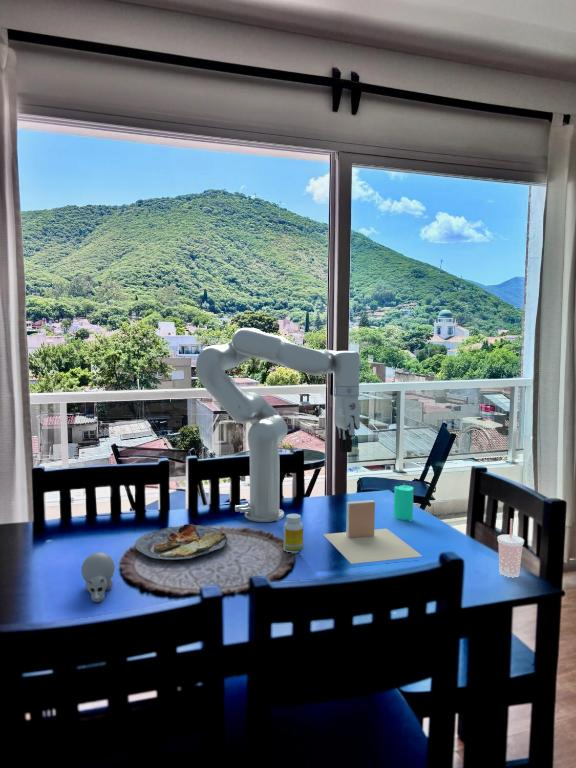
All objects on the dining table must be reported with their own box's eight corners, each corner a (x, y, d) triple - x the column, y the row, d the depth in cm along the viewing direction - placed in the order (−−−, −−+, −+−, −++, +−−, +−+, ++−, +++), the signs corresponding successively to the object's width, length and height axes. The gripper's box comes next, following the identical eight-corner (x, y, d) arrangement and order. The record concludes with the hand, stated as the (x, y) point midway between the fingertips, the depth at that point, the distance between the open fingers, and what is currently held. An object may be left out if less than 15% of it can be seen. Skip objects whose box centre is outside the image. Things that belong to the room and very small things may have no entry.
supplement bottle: (280, 548, 159) (280, 514, 158) (297, 545, 161) (297, 511, 160) (288, 555, 154) (288, 520, 153) (306, 551, 156) (306, 517, 155)
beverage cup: (508, 580, 139) (511, 524, 138) (490, 571, 144) (492, 516, 143) (528, 576, 141) (530, 521, 140) (509, 567, 147) (511, 513, 146)
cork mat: (351, 567, 146) (351, 563, 146) (323, 537, 167) (323, 534, 167) (422, 559, 151) (422, 556, 151) (386, 531, 172) (386, 528, 172)
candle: (411, 517, 186) (412, 480, 185) (413, 523, 180) (414, 485, 179) (392, 516, 187) (393, 480, 186) (394, 522, 181) (395, 485, 180)
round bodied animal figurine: (79, 615, 126) (76, 586, 122) (84, 574, 136) (81, 547, 132) (114, 611, 127) (111, 583, 124) (116, 571, 138) (114, 544, 134)
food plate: (195, 525, 176) (194, 514, 176) (244, 547, 160) (244, 534, 159) (120, 548, 159) (119, 536, 158) (166, 575, 142) (166, 561, 142)
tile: (348, 538, 164) (349, 504, 163) (346, 536, 166) (346, 502, 165) (374, 536, 166) (375, 502, 165) (372, 533, 168) (372, 500, 167)
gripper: (368, 394, 168) (366, 456, 170) (348, 388, 183) (347, 446, 185) (344, 394, 166) (343, 457, 168) (326, 389, 181) (325, 447, 183)
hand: (345, 451), depth 176 cm, fingers closed
